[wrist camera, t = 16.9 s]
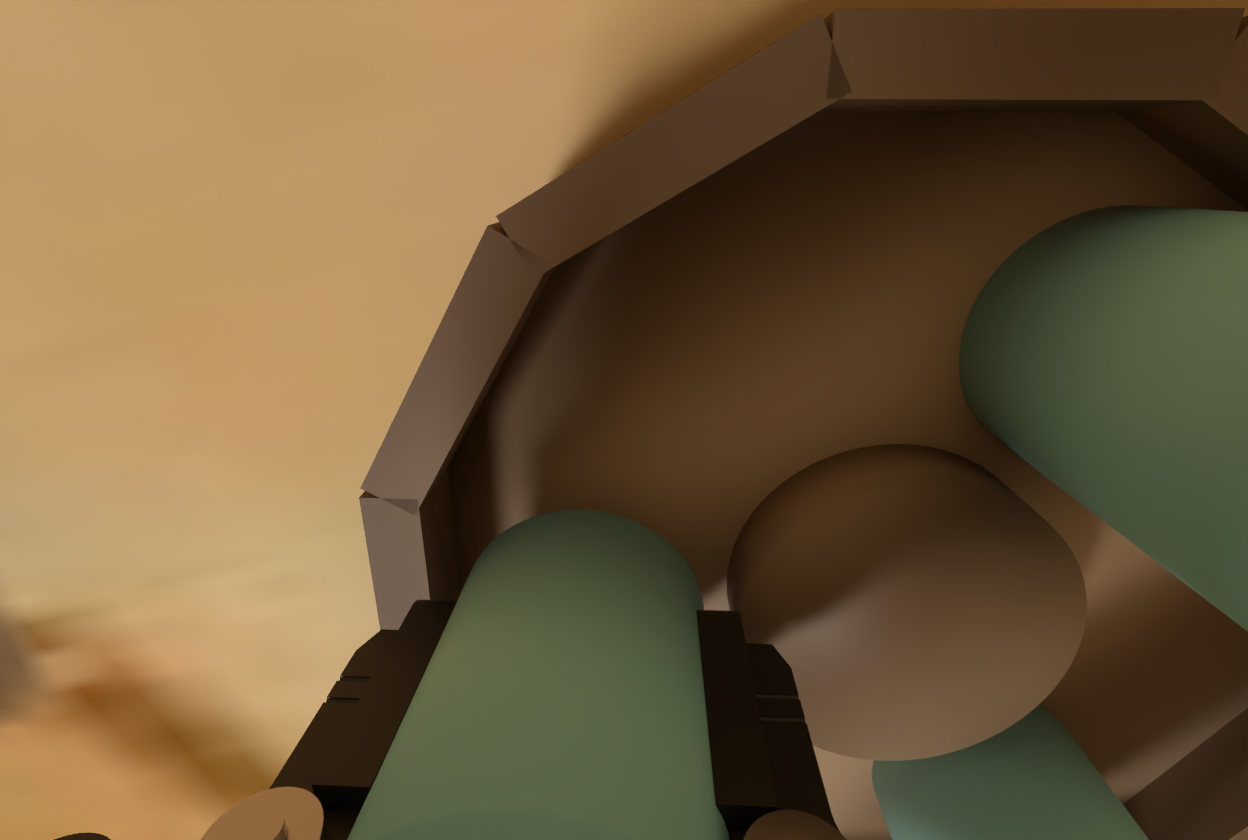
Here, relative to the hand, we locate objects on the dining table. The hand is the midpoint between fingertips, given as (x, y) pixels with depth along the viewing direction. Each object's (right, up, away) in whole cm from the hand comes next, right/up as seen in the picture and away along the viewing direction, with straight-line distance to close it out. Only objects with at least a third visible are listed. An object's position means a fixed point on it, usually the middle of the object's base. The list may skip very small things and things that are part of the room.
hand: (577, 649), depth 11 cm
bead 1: (0, 0, +1) cm, 1 cm away
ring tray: (+6, +1, +3) cm, 7 cm away
